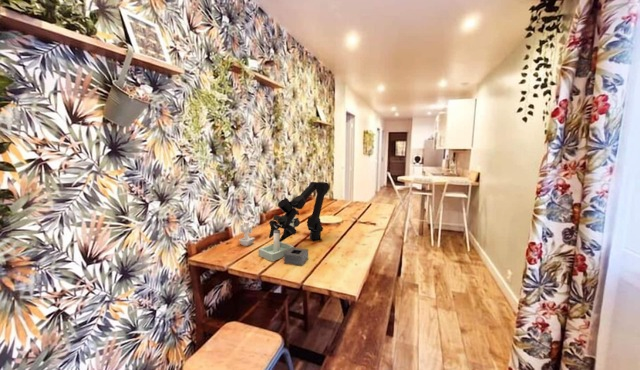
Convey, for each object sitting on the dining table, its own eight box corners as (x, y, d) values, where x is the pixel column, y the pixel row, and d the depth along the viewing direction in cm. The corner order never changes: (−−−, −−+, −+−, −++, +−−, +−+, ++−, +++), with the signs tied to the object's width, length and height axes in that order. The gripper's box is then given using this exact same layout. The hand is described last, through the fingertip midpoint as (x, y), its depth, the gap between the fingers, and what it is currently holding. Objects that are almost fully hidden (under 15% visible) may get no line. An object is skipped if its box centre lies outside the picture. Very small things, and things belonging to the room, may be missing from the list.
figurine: (256, 242, 166) (255, 220, 164) (246, 247, 157) (246, 224, 155) (247, 241, 169) (246, 218, 167) (237, 246, 160) (236, 222, 158)
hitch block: (291, 255, 146) (291, 247, 146) (308, 258, 144) (308, 249, 143) (284, 263, 137) (284, 254, 136) (301, 265, 134) (301, 256, 133)
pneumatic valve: (295, 234, 183) (295, 217, 181) (283, 231, 190) (283, 215, 188) (300, 232, 188) (300, 216, 186) (289, 229, 194) (288, 213, 193)
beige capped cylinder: (280, 251, 150) (280, 229, 148) (279, 253, 147) (279, 231, 145) (273, 251, 150) (274, 229, 148) (273, 253, 146) (273, 231, 145)
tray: (280, 247, 158) (280, 241, 158) (293, 252, 150) (293, 246, 150) (258, 255, 146) (258, 248, 146) (272, 261, 139) (271, 254, 138)
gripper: (271, 206, 154) (256, 228, 147) (292, 212, 142) (276, 236, 135) (281, 217, 161) (267, 238, 154) (302, 222, 149) (288, 246, 142)
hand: (274, 239), depth 146 cm, fingers open, 9 cm apart
